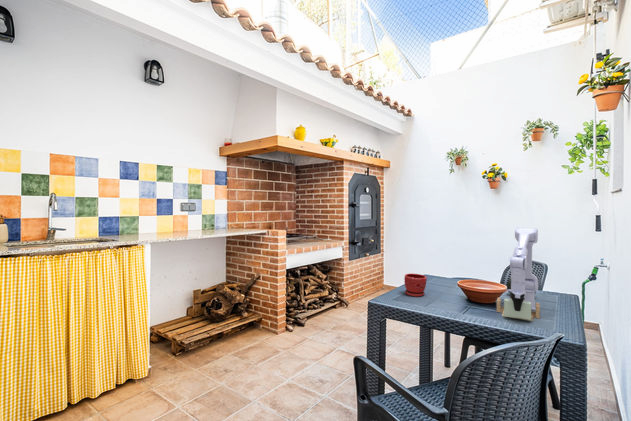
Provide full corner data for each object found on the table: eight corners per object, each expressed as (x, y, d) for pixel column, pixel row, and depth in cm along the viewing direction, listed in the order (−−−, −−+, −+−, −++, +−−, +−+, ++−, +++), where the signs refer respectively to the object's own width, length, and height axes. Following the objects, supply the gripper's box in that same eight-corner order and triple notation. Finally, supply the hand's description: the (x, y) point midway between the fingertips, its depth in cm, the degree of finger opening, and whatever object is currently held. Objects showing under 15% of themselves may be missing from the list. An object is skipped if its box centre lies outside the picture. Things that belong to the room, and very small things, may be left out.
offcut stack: (502, 314, 167) (502, 309, 167) (533, 319, 160) (533, 314, 160) (502, 316, 164) (502, 311, 164) (533, 322, 157) (533, 316, 157)
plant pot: (402, 296, 199) (403, 276, 198) (405, 291, 211) (405, 272, 210) (425, 298, 194) (425, 278, 193) (427, 293, 206) (427, 274, 205)
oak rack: (497, 308, 176) (497, 297, 176) (539, 314, 166) (539, 303, 166) (496, 311, 170) (496, 300, 170) (539, 318, 160) (539, 306, 160)
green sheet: (504, 313, 163) (504, 298, 163) (530, 317, 157) (531, 302, 157) (504, 315, 160) (504, 300, 160) (530, 320, 154) (531, 304, 154)
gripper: (508, 277, 166) (508, 304, 167) (507, 283, 154) (507, 312, 154) (525, 279, 163) (524, 306, 163) (525, 285, 150) (525, 314, 151)
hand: (517, 309), depth 158 cm, fingers closed on green sheet, 4 cm apart
